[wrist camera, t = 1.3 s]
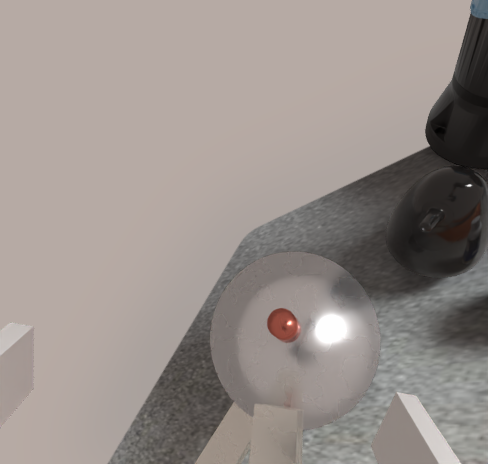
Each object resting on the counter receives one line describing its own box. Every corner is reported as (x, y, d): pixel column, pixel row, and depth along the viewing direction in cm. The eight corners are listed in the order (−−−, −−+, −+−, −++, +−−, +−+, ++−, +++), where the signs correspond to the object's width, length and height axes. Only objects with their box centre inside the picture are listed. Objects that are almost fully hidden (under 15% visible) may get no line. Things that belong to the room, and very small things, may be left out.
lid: (228, 258, 33) (213, 243, 30) (372, 255, 28) (373, 236, 25) (171, 617, 21) (135, 658, 18) (411, 733, 16) (424, 822, 12)
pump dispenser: (367, 260, 40) (370, 198, 28) (409, 205, 42) (428, 123, 30) (447, 306, 35) (495, 253, 22) (491, 239, 36) (558, 156, 24)
